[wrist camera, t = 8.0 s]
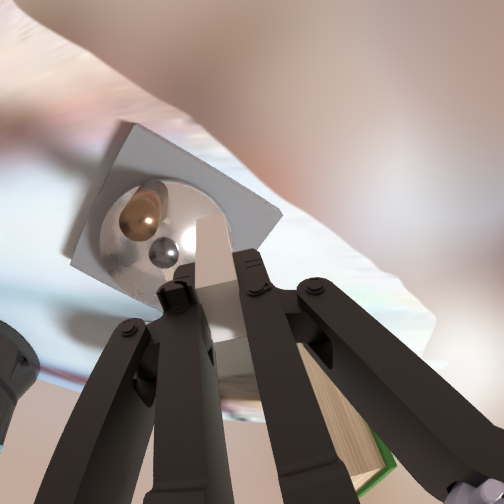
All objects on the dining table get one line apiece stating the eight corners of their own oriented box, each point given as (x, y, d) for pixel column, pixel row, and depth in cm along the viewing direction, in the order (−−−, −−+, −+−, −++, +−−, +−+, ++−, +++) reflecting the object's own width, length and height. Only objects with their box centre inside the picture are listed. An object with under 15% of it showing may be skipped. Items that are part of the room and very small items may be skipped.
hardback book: (286, 331, 44) (335, 484, 23) (332, 328, 45) (397, 466, 24) (270, 400, 52) (298, 519, 31) (308, 396, 53) (345, 508, 32)
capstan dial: (238, 294, 37) (248, 348, 29) (126, 307, 35) (112, 361, 28) (223, 163, 29) (230, 189, 21) (90, 186, 28) (53, 219, 20)
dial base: (75, 256, 34) (68, 266, 32) (138, 123, 28) (133, 125, 26) (197, 318, 40) (197, 329, 38) (279, 208, 35) (283, 216, 33)
